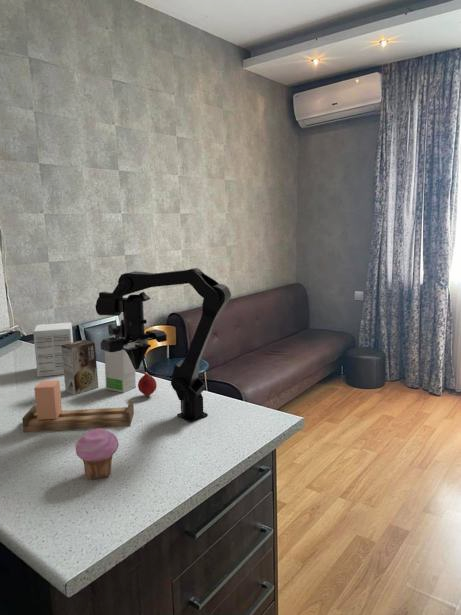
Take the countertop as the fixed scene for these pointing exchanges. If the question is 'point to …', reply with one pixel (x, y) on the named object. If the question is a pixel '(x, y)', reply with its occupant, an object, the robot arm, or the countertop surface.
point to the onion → (147, 384)
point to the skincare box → (119, 371)
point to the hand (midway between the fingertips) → (136, 369)
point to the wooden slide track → (80, 419)
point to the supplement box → (51, 347)
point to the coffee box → (79, 366)
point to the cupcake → (97, 452)
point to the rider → (48, 400)
